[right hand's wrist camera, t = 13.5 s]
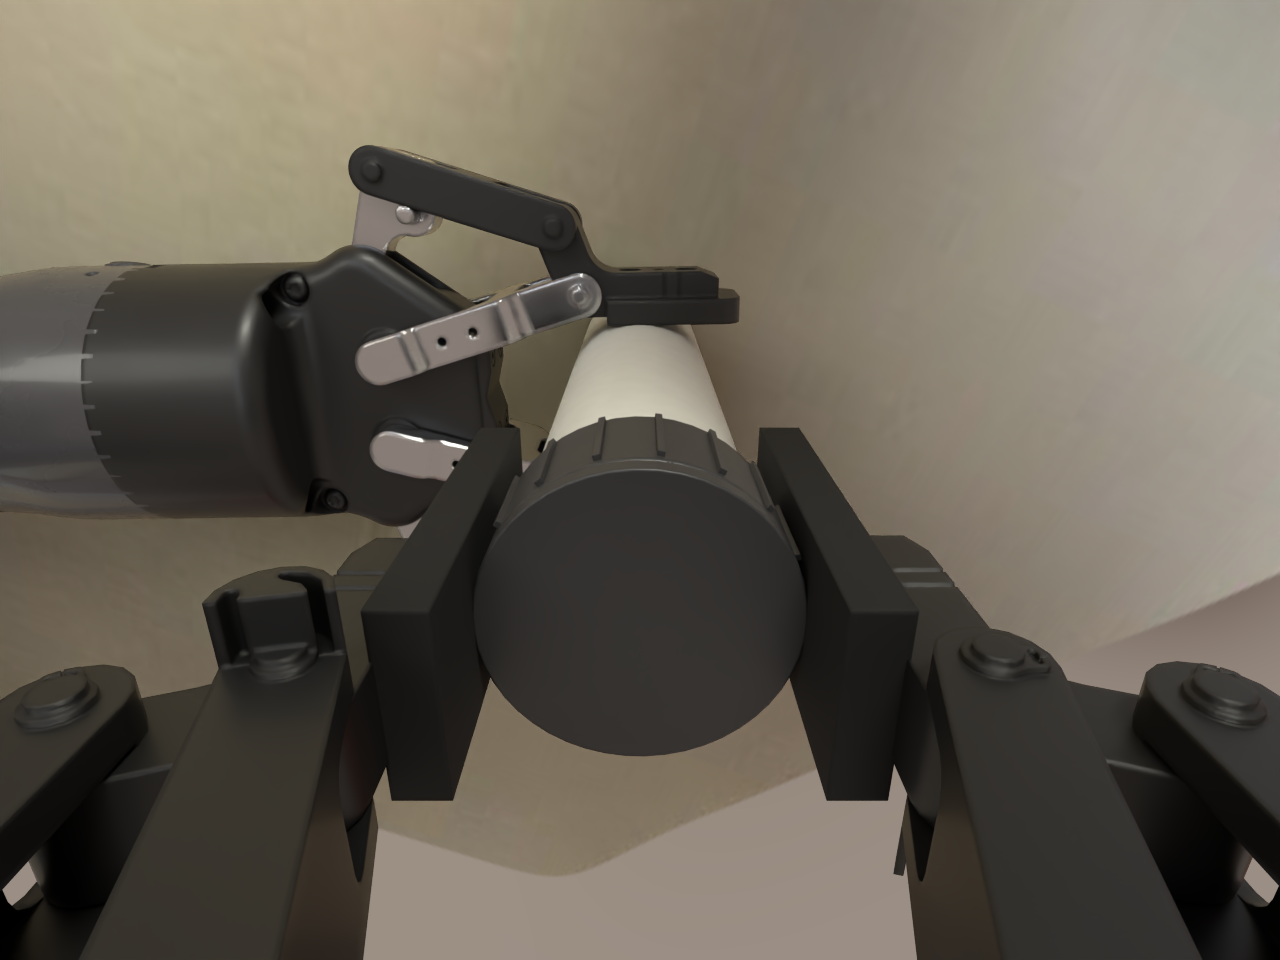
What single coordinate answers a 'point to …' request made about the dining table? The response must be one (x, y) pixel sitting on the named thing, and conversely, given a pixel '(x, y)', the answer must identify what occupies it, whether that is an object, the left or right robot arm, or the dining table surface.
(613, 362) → the bottle
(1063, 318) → the dining table surface
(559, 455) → the lid
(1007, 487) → the dining table surface
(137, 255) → the dining table surface
